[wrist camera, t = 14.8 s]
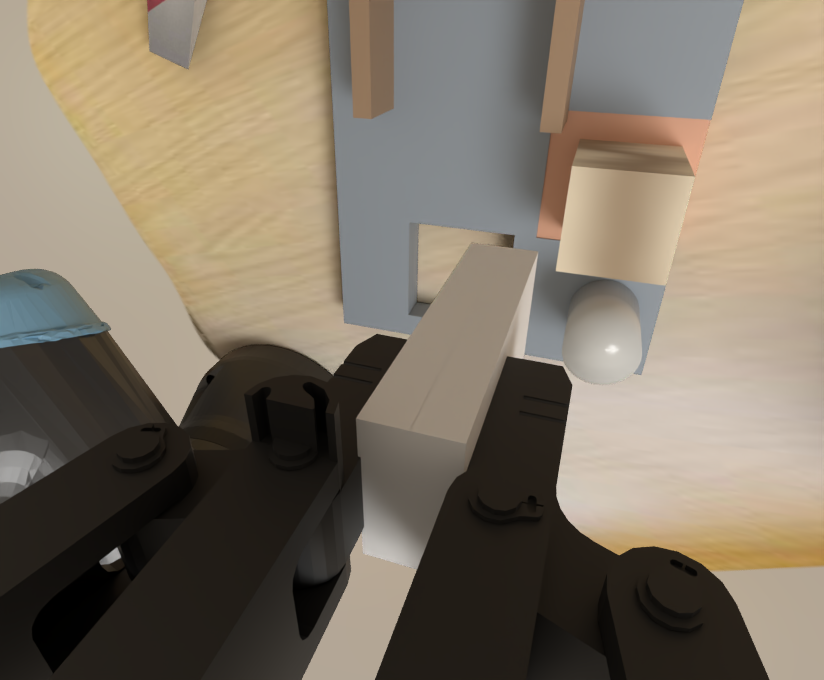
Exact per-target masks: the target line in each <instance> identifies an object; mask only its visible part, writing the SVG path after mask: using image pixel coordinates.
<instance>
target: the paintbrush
mask: <svg viewBox="0 0 824 680" xmlns="http://www.w3.org/2000/svg"><path fill="white" fill-rule="evenodd" d="M206 2H207V0H147V5H148V28H149V50H150V52H152V53H154V54H157V55H159V56H161V57H163V58H165V59H167V60H169V61H171V62H173V63H176V64H178V65H180V66H182V67H184V68H186V69H189V65H190V61H191V58H192V54H193V50H194V47H195V43H196V39H197V35H198V32H199V28H200V24H201V20H202V17H203V13H204V9H205V5H206Z"/></svg>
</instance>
